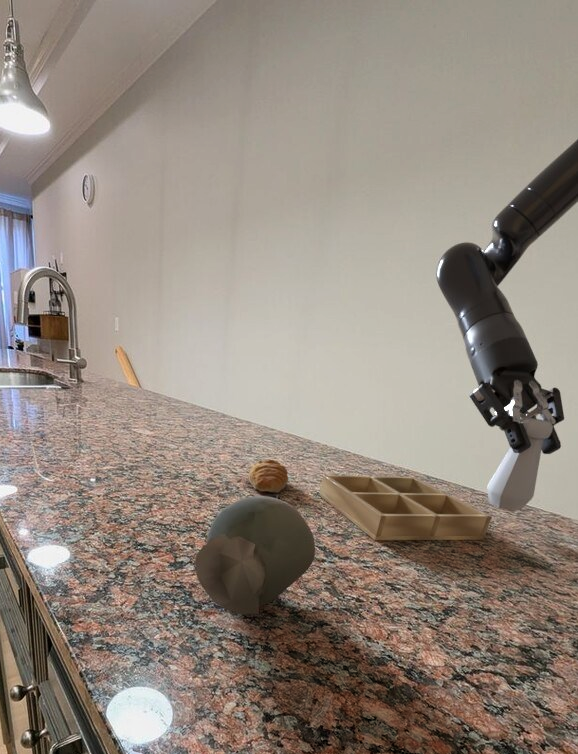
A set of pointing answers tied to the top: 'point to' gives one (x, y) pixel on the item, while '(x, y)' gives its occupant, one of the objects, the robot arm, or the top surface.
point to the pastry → (268, 476)
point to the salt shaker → (519, 469)
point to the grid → (403, 508)
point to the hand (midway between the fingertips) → (537, 450)
